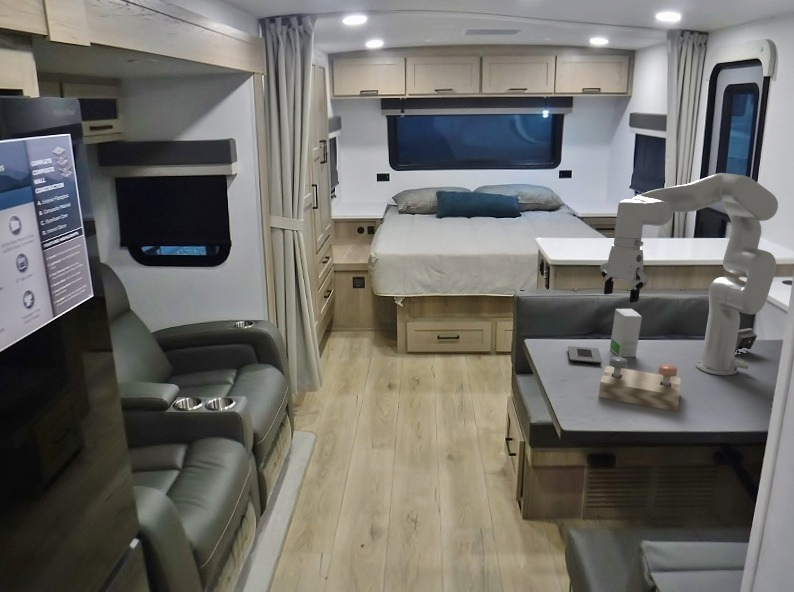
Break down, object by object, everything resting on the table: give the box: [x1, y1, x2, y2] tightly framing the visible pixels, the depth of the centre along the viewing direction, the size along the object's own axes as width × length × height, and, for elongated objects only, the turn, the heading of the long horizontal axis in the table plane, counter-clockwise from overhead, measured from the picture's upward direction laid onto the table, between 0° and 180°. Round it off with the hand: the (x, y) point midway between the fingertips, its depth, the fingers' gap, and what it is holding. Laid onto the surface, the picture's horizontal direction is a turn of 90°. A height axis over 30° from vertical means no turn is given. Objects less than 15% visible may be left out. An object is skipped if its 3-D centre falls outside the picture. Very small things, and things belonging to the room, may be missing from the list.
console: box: [598, 365, 682, 412], centre depth 195 cm, size 22×14×5 cm, turn 66°
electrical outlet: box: [567, 345, 603, 365], centre depth 225 cm, size 13×10×2 cm
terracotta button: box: [657, 363, 678, 386], centre depth 191 cm, size 5×5×6 cm
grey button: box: [609, 356, 628, 378], centre depth 197 cm, size 5×5×6 cm
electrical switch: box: [735, 327, 758, 352], centre depth 230 cm, size 9×5×9 cm, turn 113°
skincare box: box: [609, 308, 643, 358], centre depth 228 cm, size 8×7×16 cm
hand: (620, 297), depth 195 cm, fingers open, 9 cm apart
